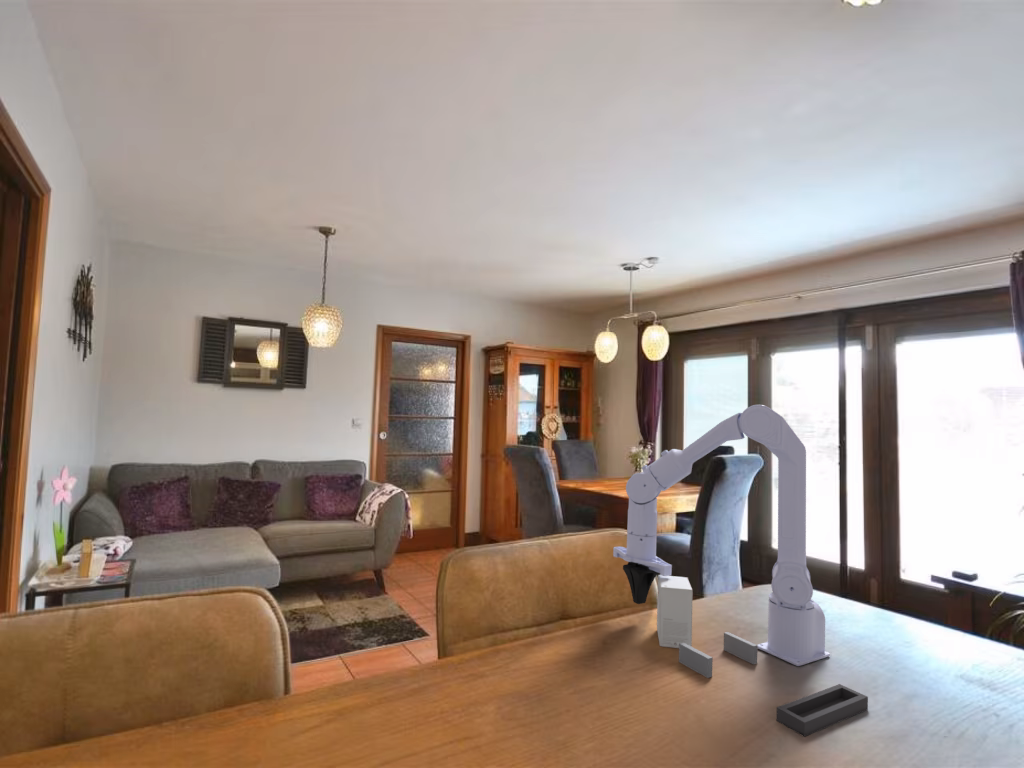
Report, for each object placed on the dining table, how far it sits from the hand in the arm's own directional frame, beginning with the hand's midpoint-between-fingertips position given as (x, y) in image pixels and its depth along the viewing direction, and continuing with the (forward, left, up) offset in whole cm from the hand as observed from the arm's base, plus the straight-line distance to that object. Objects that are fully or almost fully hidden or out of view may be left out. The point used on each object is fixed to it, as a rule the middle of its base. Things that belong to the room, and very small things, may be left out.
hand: (639, 602), depth 108 cm
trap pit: (-1, +37, -4) cm, 37 cm away
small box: (0, +9, -4) cm, 10 cm away
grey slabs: (0, +19, -4) cm, 19 cm away
